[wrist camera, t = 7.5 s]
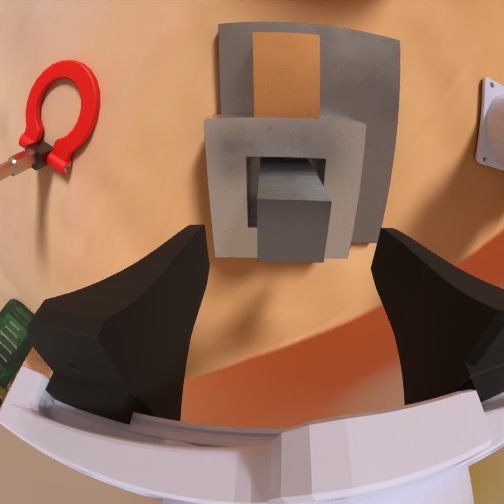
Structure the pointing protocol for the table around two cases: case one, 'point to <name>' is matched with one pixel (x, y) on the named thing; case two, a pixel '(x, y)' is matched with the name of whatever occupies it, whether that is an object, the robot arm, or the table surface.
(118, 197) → the table surface
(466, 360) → the robot arm
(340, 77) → the bracket fixture
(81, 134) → the tow hook
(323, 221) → the pin
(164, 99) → the table surface
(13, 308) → the coffee jar
